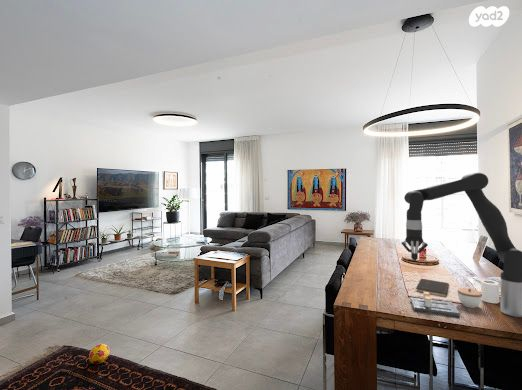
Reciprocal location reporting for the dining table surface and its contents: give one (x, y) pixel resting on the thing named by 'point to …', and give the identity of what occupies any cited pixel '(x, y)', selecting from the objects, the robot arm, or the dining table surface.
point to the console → (435, 307)
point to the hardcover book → (433, 287)
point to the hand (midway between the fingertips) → (414, 259)
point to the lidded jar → (469, 297)
